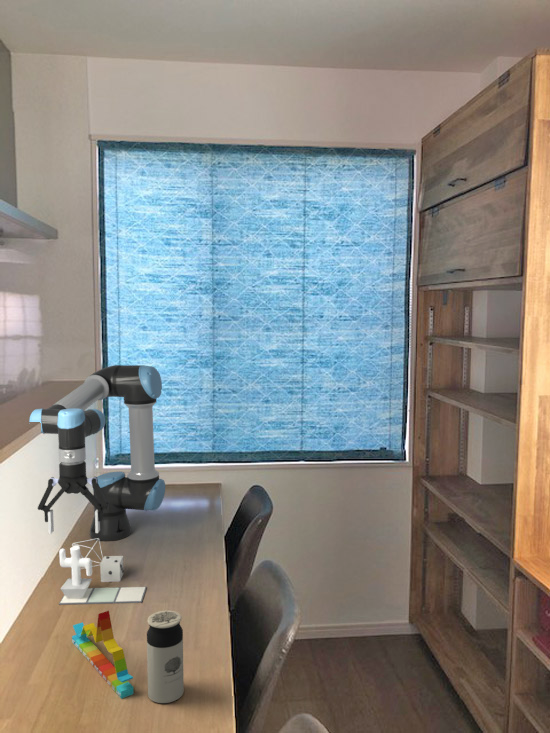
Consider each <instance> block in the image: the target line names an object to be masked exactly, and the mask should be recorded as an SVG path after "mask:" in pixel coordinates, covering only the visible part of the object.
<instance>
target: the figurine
mask: <svg viewBox="0 0 550 733" xmlns="http://www.w3.org/2000/svg"><path fill="white" fill-rule="evenodd" d="M69 550H70V557H67V556H66V549H65V548H60V549H59V552H58V553H59V557H58V558H59V565H60V567H61V568H71V578H70V577H69V578H67V580H66V581H65V582H64V584H63V585H62V586H61V587H60V590H61V592H62V593H63V596H64V595H65V596H66V597H67V599H82V598H83V596H84V595H85V593H86V591H87V589H88V588H90V587H89V586H90V584H91V582H92V580H93V578H83V577H82V574H81V570H82V568H84V569H85V572H86V576H87V577H91V576H92V575H93V567H92V566H93V560H92V558H90V557H86V558H85V557H82V556H81V555H82V554H81V546H79V544H78V545H75V544H74V546H72V547H70V548H69ZM80 554H81V555H80Z"/></svg>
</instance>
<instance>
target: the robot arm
mask: <svg viewBox="0 0 550 733" xmlns="http://www.w3.org/2000/svg"><path fill="white" fill-rule="evenodd" d="M162 390H163V382H162V377H161V374H160V373H159V371H158V370H157V368H155V366H151V365H143V364H142V365H139V364H137V365H136V364H135V365H132V364H131V365H130V364H129V365H127V364H126V365H122V364H115V365H110V366H107V367H104V368H102V369H98V370H97V371H95V372H94V373H92V374H91V375H89V376H87V377H86V378H85V380H84V382H83V383H82V384H81V385H79V386H78V387H76V388H75V389H74V390H72V391H71V392H69V393H68V394H67V395H65V396H63V397H62V398H61V399H59V400H58V401H57V402H55V403H54V404H52V405H51V406H49V407H48V408H36V409H34V410H33V411H32V412H31V413H30V416H29V419H28V420H29V422H40V423H41V433H40V434H43V435H46V434H48V435H50V434H52V435H57V436H58V439H57V440H58V461H59V462H60V463H59V464H58V468H59V469H58V470H59V471H58V473H59V477H58V478H55V477H54V476H51V477H50V478H49V479H48V480H47V486H46V488H45V492H44V493H43V496H42V498H41V500H40V502H39V504H38V505H37V510H38V511H43V512H44V513H43V514H44V522H45V523H48V524H47V525H48V526H47V528H48V529H47V531H48V535H52V534H53V532H54V527H55V524H54V509H51V508H52V507H53V506H54V505H55V504H56V502H57V501H58V500H59V499H60V497H61V496H62V495H63V494H64V493H66V495H69V494H81V495H83V496H84V497H85V498H86V499H87V500H88V502H90V504H91V505H92V506H93V511H94V512H93V519H92V522H91V525H90V529H89V537H90V539H94V540H95V541H97V540H98V542H99V541H100V542H101V541H102V542H110V541H111V542H113V541H118V540H121V539H125V538H127V537H129V536H130V535H131V534H132V525H131V523H130V520H129V517H128V515H127V510H135V511H137V510H138V511H144V512H146V511H156V510H158V509H159V508H160V507H161V506H162V503H163V501H164V498H165V494H166V483H165V480H164V479H162V478H160V473H159V471H158V470H156V469H155V442H154V439H155V438H154V412H153V411H154V410H153V409H154V408H153V406H155V404H156V403H157V399H159V398H160V397H161V395H162ZM113 397H114V398H116V397H117V398H123V403H124V405H125V406H126V407H127V408H128V424H129V425H128V427H129V430H128V431H129V448H130V453H129V454H130V472H128V474H127V475H126V473H125V472H123V471H112V472H106V473H103V474H100V475H98V476H93V477H89V478H88V477H87V462H86V459H87V457H86V456H87V455H86V438H87V437H90V436H92V435H95V434H97V433H99V432H101V431H102V430H103V429H104V427H105V425H106V416H105V414H104V413H103V411H101V410H99V409H98V408H89V407H91V406H92V405H93V404H95V403H96V402H97V401H102V400H104V399H106V398H113ZM29 422H28V423H29ZM57 484H58V485H59V486H60V490H59V491H58V492H57V493H56V494H55V495H54V497H53V498H52V499H51V500H50V502H48V504H47V505H46V503H47V501H48V498H49V497H50V495H51V493H52V491H53V488H54V487H55V486H56V485H57ZM87 484H89V485H90V486H92V487H91V488H92V491H93V493H92V492H91V491H90V489H89V488H88V487H87ZM97 538H99V539H97Z"/></svg>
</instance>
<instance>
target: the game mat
mask: <svg viewBox="0 0 550 733" xmlns="http://www.w3.org/2000/svg"><path fill="white" fill-rule="evenodd" d="M146 592H147V586H123V587H120V586H119V587H118V586H116V587H114V586H113V587H88V589H87V591H86V593H85V595H84V596H83V598H82V599H67V597H66V596H65V595H64V594H63V595H62V597H61V600H60V601H59V603H58V605H59V606H60V605H63V606H65V605H95V604H96V605H101V604H104V605H105V604H106V605H107V604H138V603H139V604H142V603H143V600H144V597H145V594H146Z"/></svg>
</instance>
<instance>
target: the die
mask: <svg viewBox="0 0 550 733" xmlns="http://www.w3.org/2000/svg"><path fill="white" fill-rule="evenodd" d="M101 560H102V561H101V562H99V567H100V570H99V571H100V582H101V583H108V582H109V583H111V582H113V583H114V582H116V583H117V582H121V580H122V578H123V575H124V573H125V572H124V571H125V570H124V556H123V555H109V556H108V555H107V556H105V555H104V556H103V559H101Z"/></svg>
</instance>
